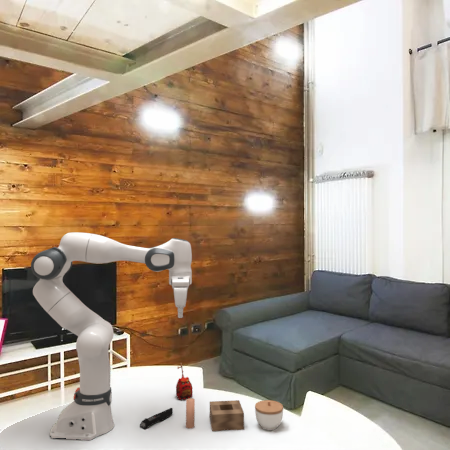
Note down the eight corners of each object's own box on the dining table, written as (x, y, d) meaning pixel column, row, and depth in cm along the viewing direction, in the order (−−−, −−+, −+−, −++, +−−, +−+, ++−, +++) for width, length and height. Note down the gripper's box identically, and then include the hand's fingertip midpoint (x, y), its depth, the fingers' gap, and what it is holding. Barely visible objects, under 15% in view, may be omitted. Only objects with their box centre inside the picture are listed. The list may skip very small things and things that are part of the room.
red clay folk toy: (179, 402, 171) (180, 367, 172) (172, 396, 177) (173, 363, 178) (195, 398, 175) (195, 364, 176) (187, 393, 181) (187, 360, 182)
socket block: (212, 431, 145) (212, 414, 145) (209, 416, 157) (209, 401, 157) (243, 429, 147) (244, 413, 147) (239, 415, 158) (239, 400, 159)
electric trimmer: (175, 416, 158) (175, 408, 158) (145, 430, 146) (145, 421, 146) (168, 414, 160) (168, 406, 161) (138, 427, 148) (139, 419, 148)
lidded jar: (251, 421, 153) (251, 397, 153) (276, 418, 156) (276, 394, 156) (260, 434, 143) (260, 408, 143) (287, 431, 146) (287, 405, 146)
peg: (186, 428, 147) (186, 401, 147) (185, 424, 150) (186, 398, 150) (194, 428, 147) (194, 401, 148) (194, 424, 150) (194, 398, 151)
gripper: (172, 277, 163) (172, 310, 162) (171, 282, 142) (171, 320, 142) (187, 277, 164) (187, 310, 163) (189, 282, 143) (189, 320, 143)
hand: (180, 315), depth 152 cm, fingers open, 8 cm apart
